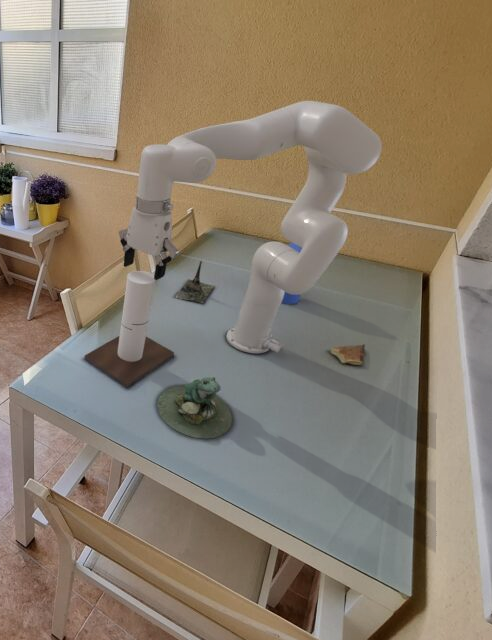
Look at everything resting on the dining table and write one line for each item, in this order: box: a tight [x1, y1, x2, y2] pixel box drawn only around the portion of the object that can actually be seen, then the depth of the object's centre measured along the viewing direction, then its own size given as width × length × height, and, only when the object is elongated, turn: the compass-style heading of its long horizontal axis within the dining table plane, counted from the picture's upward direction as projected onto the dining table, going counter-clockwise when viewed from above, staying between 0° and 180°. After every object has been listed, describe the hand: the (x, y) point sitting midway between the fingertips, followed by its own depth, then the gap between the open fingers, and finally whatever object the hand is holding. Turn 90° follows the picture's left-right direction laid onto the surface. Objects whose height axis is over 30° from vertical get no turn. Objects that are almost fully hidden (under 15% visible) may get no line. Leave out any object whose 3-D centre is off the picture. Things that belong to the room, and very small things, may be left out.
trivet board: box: [84, 335, 175, 389], centre depth 122 cm, size 16×21×2 cm
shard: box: [330, 344, 366, 366], centre depth 121 cm, size 11×8×2 cm
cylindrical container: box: [118, 270, 156, 362], centre depth 114 cm, size 7×7×25 cm
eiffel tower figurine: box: [174, 258, 215, 304], centre depth 149 cm, size 15×10×13 cm
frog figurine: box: [157, 375, 233, 440], centre depth 101 cm, size 18×18×12 cm
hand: (143, 271), depth 105 cm, fingers open, 9 cm apart
